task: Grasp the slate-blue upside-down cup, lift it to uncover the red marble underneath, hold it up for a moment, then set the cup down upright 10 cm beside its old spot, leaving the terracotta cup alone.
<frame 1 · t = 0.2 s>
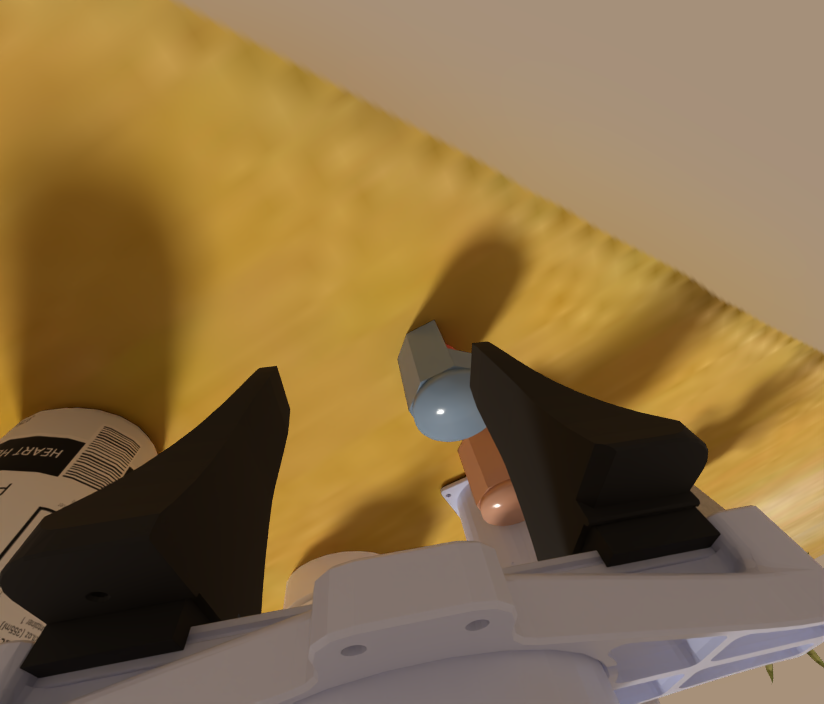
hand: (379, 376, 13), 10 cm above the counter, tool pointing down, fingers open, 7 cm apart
house plant: (650, 476, 38), on the counter
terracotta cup: (487, 445, 31), on the counter
supplement can: (98, 443, 25), on the counter
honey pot: (345, 579, 40), on the counter
slate-blue cup: (435, 353, 25), on the counter
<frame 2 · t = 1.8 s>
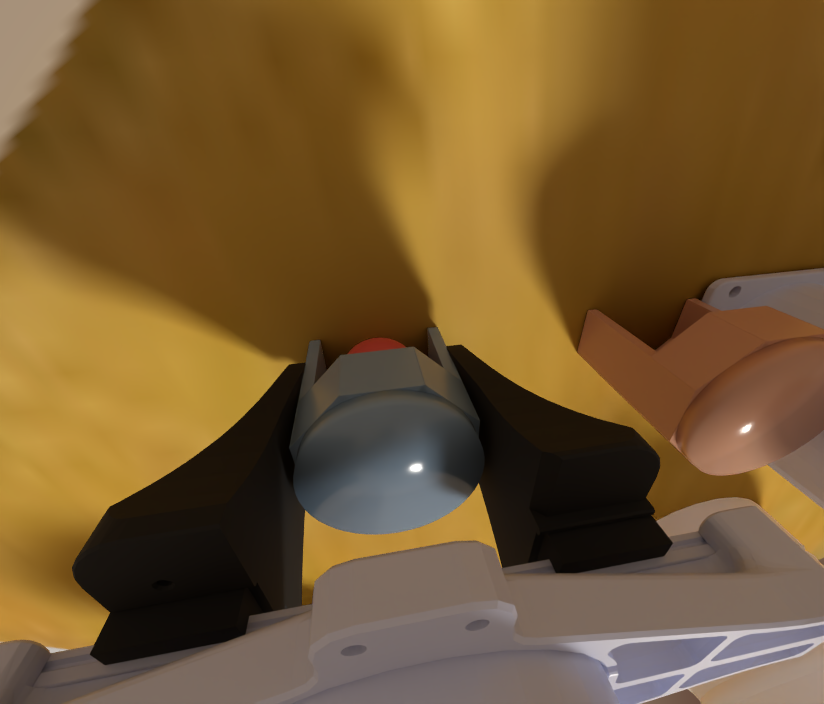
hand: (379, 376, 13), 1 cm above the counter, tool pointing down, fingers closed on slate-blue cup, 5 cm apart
red marble: (380, 377, 13), point 1 cm above the counter
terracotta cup: (635, 325, 15), on the counter
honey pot: (679, 544, 29), on the counter
slate-blue cup: (377, 356, 14), on the counter, touching gripper
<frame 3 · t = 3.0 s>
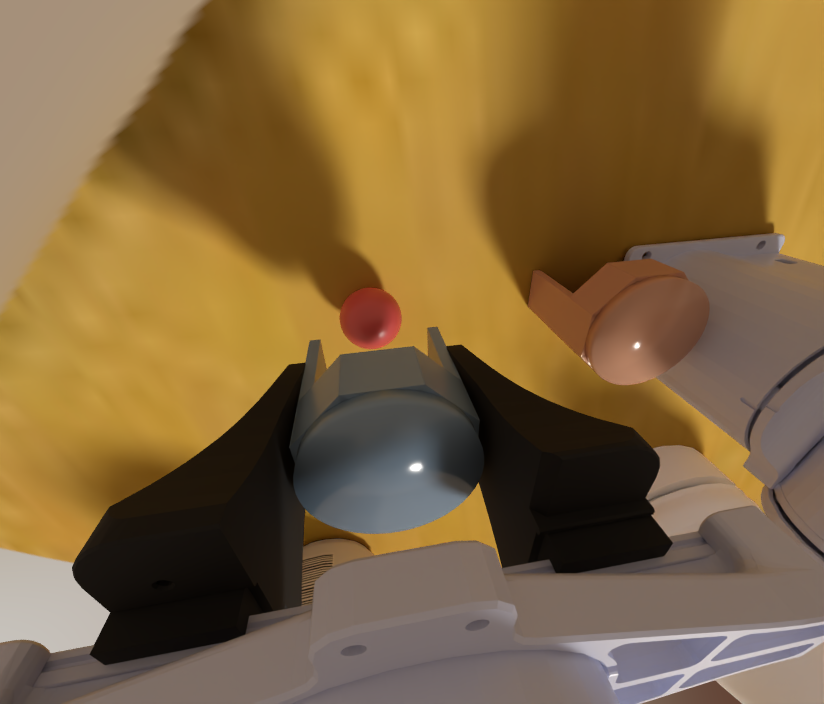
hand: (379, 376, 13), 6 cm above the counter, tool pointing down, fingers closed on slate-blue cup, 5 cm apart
red marble: (370, 318, 17), point 1 cm above the counter
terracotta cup: (572, 284, 19), on the counter
supplement can: (330, 558, 31), on the counter
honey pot: (636, 491, 33), on the counter
slate-blue cup: (377, 355, 14), point 5 cm above the counter, touching gripper
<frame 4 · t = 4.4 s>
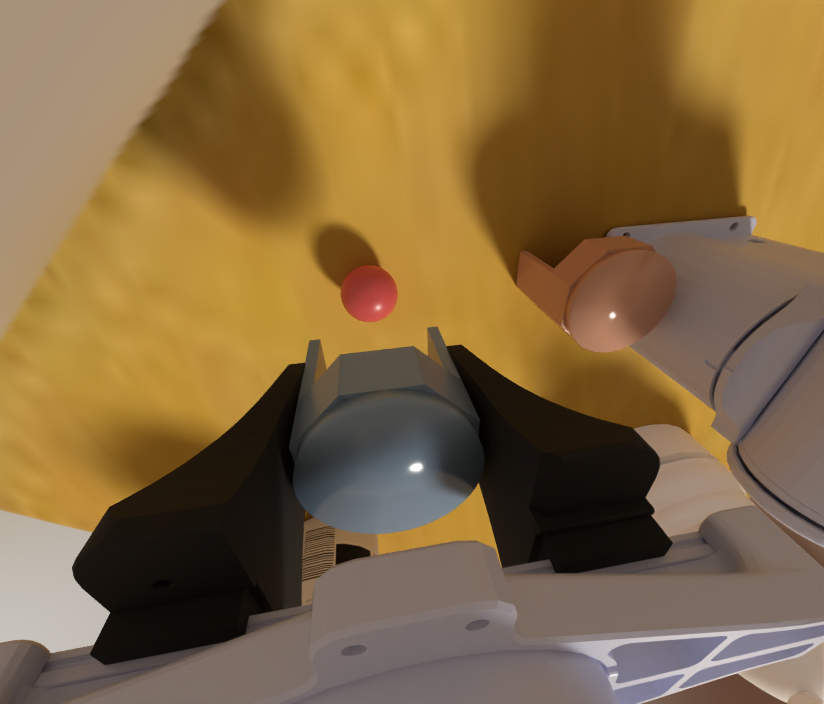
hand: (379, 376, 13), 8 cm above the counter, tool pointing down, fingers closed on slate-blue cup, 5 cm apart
red marble: (369, 293, 18), point 1 cm above the counter
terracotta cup: (557, 264, 21), on the counter
supplement can: (333, 533, 32), on the counter
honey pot: (626, 470, 34), on the counter
slate-blue cup: (377, 355, 14), point 7 cm above the counter, touching gripper
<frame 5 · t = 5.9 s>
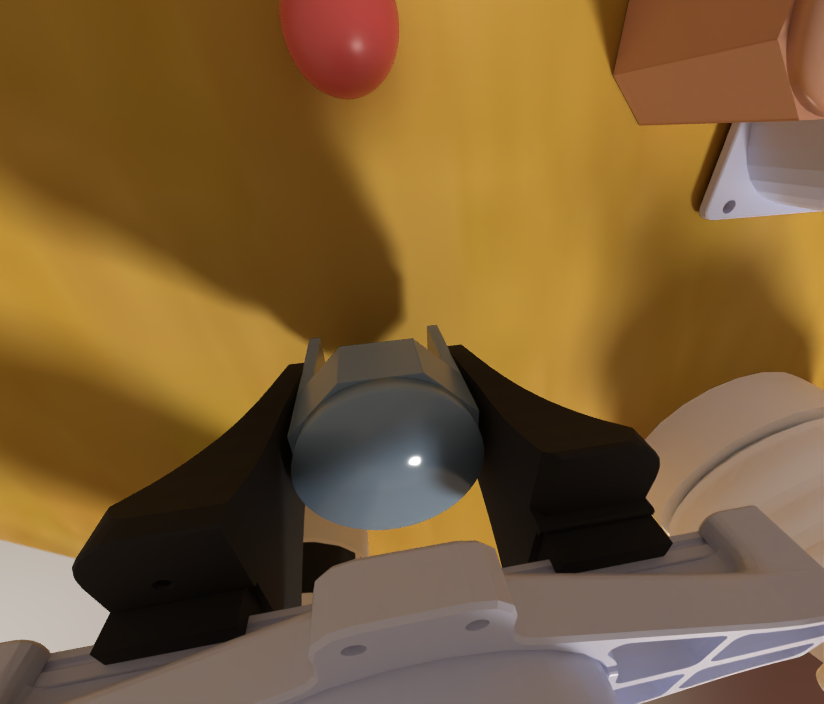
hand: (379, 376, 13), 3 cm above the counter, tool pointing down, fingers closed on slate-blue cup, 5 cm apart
red marble: (341, 27, 9), point 1 cm above the counter
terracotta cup: (691, 33, 11), on the counter
supplement can: (304, 527, 23), on the counter
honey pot: (713, 443, 25), on the counter
slate-blue cup: (377, 354, 14), point 2 cm above the counter, touching gripper
when the fingers open (2 cm above the counter, at t = 7.0 s): slate-blue cup stays where it is, on the counter.
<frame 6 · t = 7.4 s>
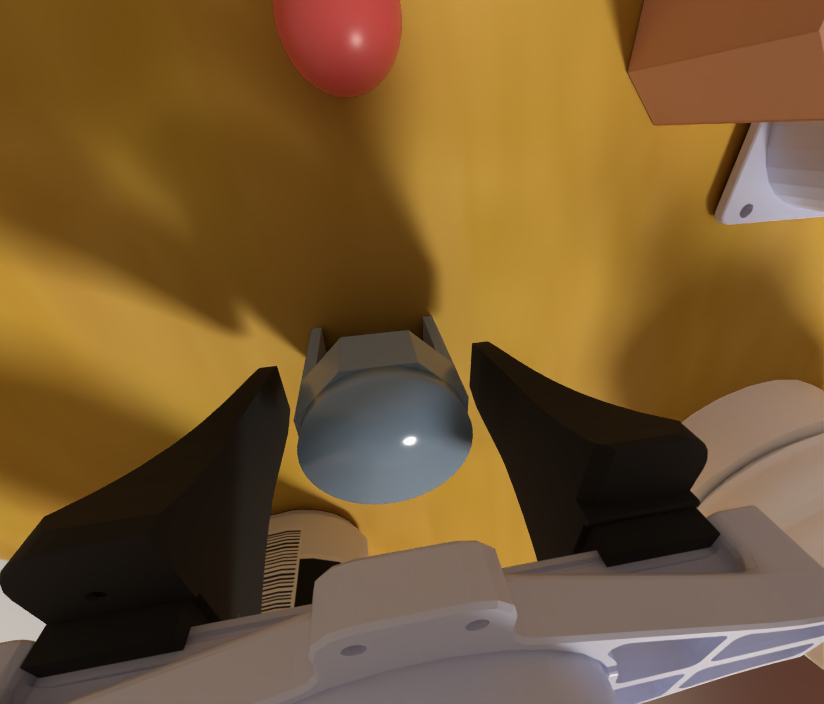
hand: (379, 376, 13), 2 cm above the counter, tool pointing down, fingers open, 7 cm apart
red marble: (339, 20, 8), point 1 cm above the counter
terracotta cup: (711, 27, 11), on the counter
supplement can: (302, 540, 22), on the counter
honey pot: (722, 451, 24), on the counter
slate-blue cup: (375, 343, 15), on the counter
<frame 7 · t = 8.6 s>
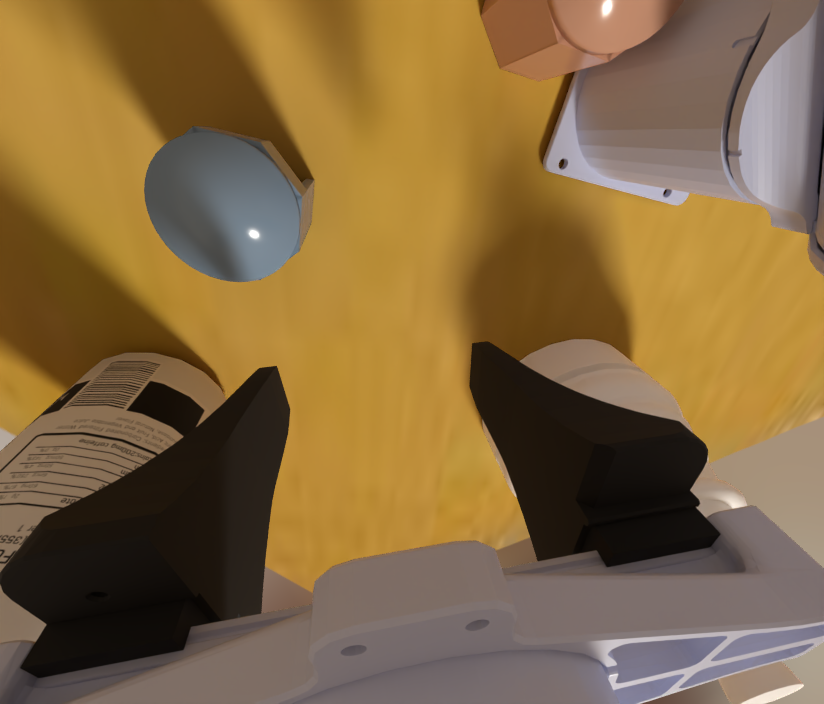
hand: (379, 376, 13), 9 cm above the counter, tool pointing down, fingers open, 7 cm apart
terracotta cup: (540, 4, 15), on the counter
supplement can: (165, 397, 23), on the counter
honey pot: (554, 403, 29), on the counter
slate-blue cup: (261, 191, 17), on the counter
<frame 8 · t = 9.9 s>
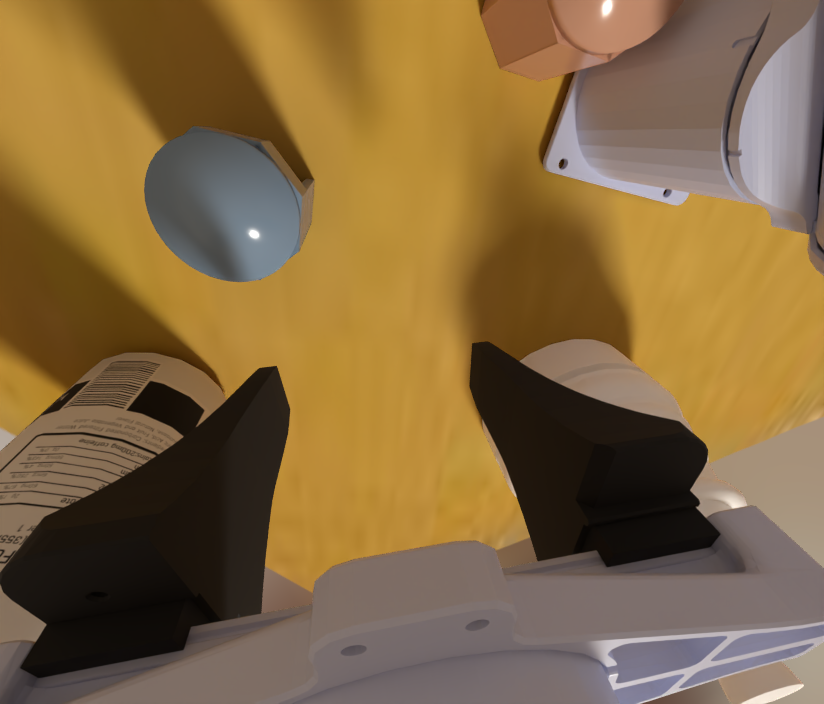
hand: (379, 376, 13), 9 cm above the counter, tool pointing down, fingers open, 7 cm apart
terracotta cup: (540, 4, 15), on the counter
supplement can: (165, 397, 23), on the counter
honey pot: (554, 403, 29), on the counter
slate-blue cup: (261, 191, 17), on the counter
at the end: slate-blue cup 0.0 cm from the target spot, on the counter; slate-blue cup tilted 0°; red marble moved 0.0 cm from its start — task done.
